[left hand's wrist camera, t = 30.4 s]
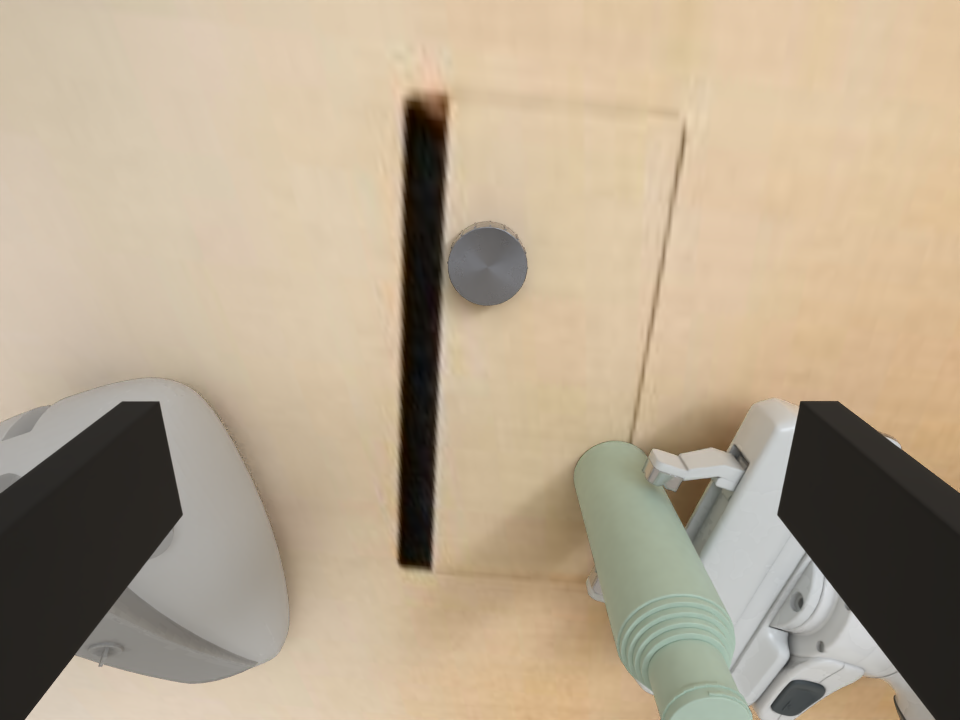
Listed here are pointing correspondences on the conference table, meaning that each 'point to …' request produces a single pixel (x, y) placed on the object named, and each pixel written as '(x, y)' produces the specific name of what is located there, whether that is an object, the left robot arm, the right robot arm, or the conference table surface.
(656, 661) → the bottle
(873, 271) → the conference table surface
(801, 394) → the conference table surface
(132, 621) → the projector
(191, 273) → the conference table surface
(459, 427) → the conference table surface
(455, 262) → the cap
